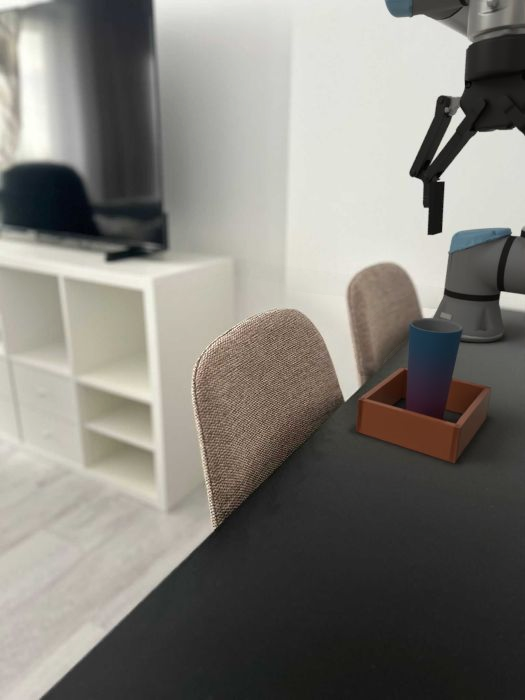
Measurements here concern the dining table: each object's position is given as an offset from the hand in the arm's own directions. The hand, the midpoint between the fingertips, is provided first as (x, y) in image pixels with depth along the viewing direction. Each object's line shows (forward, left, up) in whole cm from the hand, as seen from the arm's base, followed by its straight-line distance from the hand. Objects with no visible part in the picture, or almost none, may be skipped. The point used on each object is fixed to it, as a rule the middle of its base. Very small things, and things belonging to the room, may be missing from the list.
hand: (487, 236), depth 63 cm
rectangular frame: (+1, -4, -27) cm, 27 cm away
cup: (+1, -4, -27) cm, 28 cm away
